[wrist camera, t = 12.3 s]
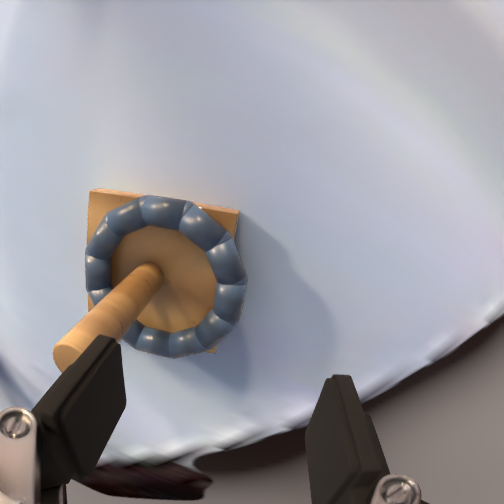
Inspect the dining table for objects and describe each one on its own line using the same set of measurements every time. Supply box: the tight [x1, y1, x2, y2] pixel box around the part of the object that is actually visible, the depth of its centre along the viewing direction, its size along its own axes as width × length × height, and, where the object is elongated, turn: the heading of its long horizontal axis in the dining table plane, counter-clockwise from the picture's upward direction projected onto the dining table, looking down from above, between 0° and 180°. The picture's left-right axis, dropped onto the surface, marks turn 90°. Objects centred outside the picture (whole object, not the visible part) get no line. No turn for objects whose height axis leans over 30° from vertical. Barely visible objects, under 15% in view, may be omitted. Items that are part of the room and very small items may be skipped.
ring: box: [85, 195, 247, 359], centre depth 17 cm, size 10×10×2 cm
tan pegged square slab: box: [53, 189, 239, 373], centre depth 14 cm, size 9×9×10 cm
